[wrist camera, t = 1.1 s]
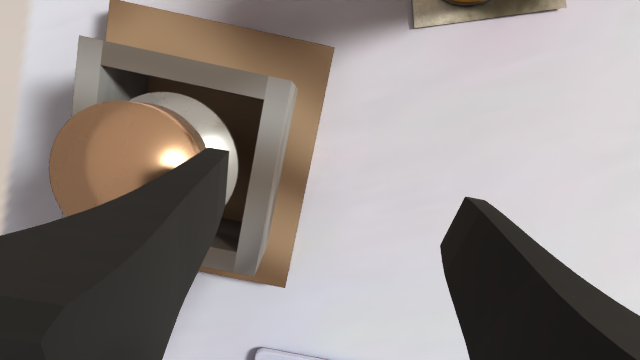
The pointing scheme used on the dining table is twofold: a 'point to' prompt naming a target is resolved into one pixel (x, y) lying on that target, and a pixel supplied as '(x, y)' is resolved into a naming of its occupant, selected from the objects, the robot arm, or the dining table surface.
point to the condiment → (475, 9)
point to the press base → (224, 116)
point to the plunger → (132, 147)
